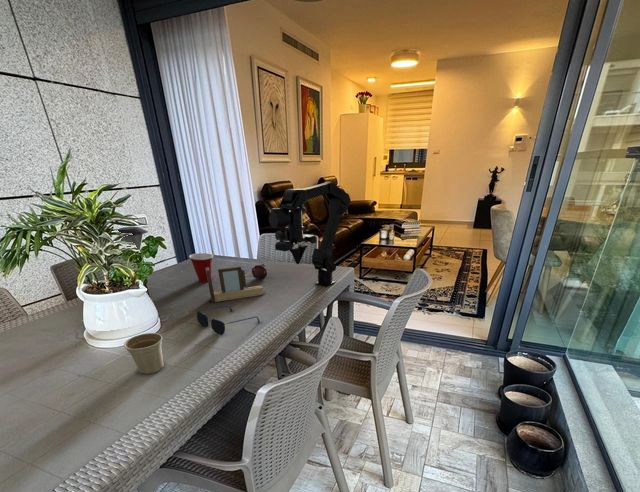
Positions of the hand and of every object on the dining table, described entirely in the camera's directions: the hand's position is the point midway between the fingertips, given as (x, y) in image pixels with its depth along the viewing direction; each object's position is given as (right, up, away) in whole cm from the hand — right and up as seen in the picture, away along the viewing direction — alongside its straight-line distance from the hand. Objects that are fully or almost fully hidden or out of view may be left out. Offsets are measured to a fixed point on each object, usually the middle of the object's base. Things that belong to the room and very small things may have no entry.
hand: (297, 263), depth 144 cm
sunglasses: (-23, -26, -21) cm, 41 cm away
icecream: (-19, -2, +23) cm, 30 cm away
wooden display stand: (-25, -13, +3) cm, 28 cm away
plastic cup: (-46, -2, +24) cm, 52 cm away
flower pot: (-37, -40, -47) cm, 72 cm away
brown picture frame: (-26, -12, +1) cm, 29 cm away
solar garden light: (-58, -18, -5) cm, 61 cm away
